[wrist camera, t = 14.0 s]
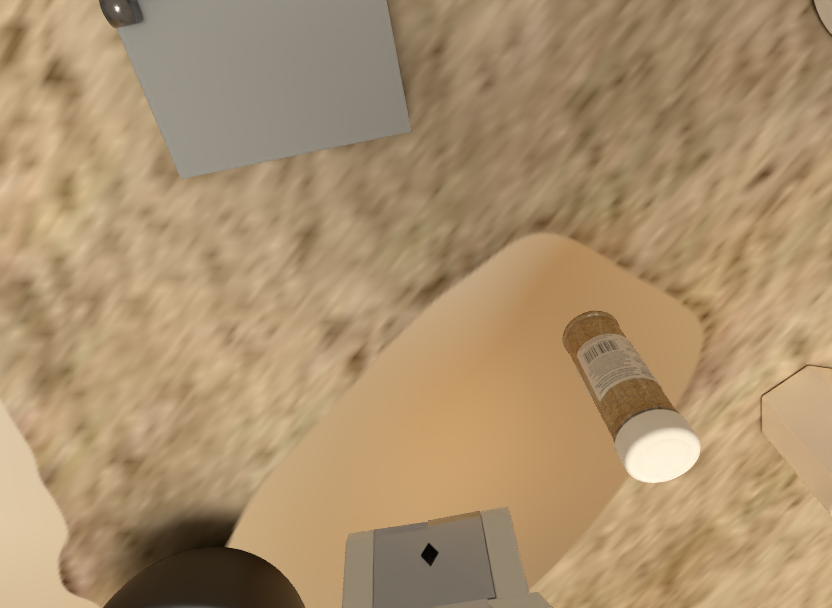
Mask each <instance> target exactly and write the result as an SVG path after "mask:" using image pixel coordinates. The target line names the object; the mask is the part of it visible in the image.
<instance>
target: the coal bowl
mask: <svg viewBox="0 0 832 608" xmlns="http://www.w3.org/2000/svg"><path fill="white" fill-rule="evenodd" d="M103 608H305V606H304V604H303V602H302V600H301V598H300V596H299V594H298V593H297V591H296V589H295V588H294V587H293V585H292V584H291V583H290V582H289V580H288V579H287V578H286V577H285V576H284V575H283V574H282V573H281V572H280V571H279V570H278V569H276V567H274V566H273V565H272V564H270V563H269V562H267V561H266V560H264V559H262V558H260V557H258V556H256V555H254V554H251V553H248V552H246V551H243V550H239V549H234V548H227V547H205V548H197V549H192V550H187V551H184V552H181V553H177V554H174V555H172V556H169V557H167V558H165V559H163V560H161V561H159V562H156V563H155V564H153V565H151V566H150V567H148V568H146V569H145V570H143V571H142V572H140V573H139V574H138V575H136V576H135V577H134V578H132V579H131V580H130V581H128V582H127V583H126V584H125V585H124V586H123V587H122V588H121V589H120V590H119V591H118V592H117V593H116V594H114V596H113V597H112V598H111V599H110V600H109V601H108V602H107V603H106V605H105V606H104V607H103Z"/></svg>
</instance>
